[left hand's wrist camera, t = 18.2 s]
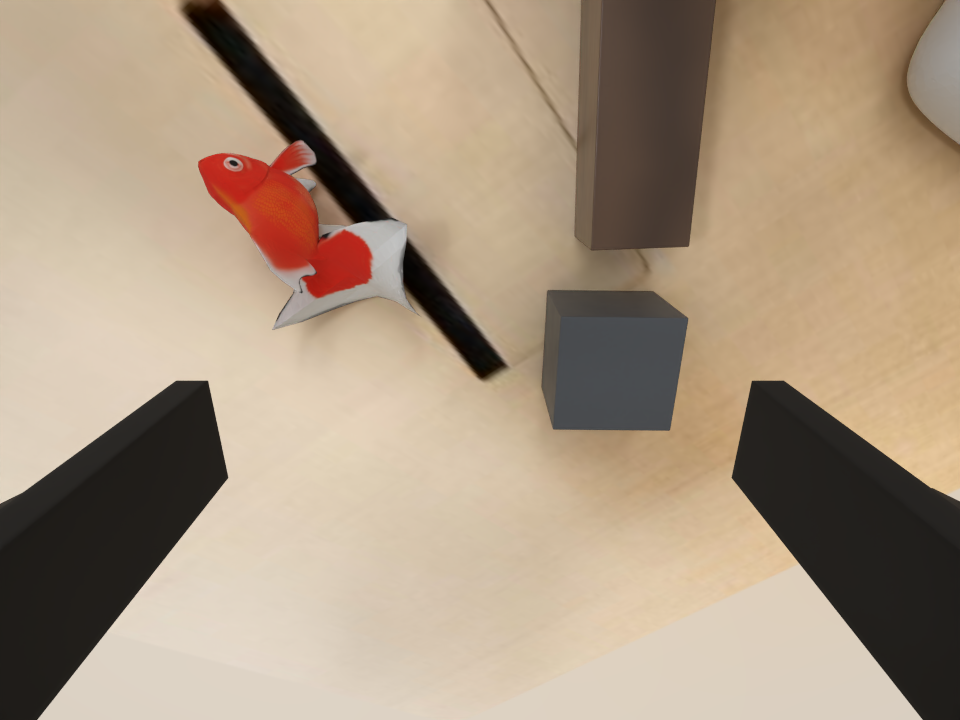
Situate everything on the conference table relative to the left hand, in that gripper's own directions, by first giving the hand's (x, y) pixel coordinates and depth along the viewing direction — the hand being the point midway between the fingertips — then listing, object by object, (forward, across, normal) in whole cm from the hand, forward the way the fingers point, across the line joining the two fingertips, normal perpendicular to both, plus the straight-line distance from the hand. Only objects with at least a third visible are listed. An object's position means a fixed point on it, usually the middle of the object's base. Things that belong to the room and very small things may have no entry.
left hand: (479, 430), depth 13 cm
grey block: (+27, +9, -7) cm, 29 cm away
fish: (+27, -10, +1) cm, 29 cm away
